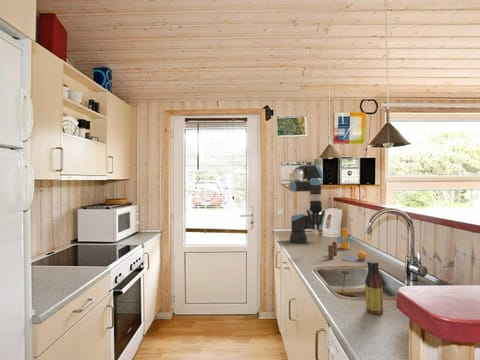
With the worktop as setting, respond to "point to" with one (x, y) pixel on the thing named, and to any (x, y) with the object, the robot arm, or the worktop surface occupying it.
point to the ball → (361, 255)
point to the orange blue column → (345, 239)
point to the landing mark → (353, 259)
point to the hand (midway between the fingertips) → (316, 234)
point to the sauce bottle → (373, 289)
